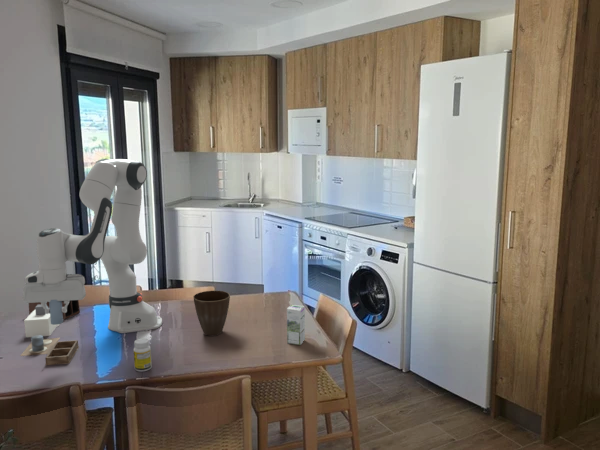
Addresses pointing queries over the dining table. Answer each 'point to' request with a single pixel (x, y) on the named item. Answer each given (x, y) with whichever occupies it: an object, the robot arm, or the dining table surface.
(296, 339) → the syrup box
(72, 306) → the letter holder
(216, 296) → the plant pot
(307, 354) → the dining table surface
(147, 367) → the supplement bottle
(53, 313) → the peg
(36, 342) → the board
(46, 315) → the cover
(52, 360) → the divided wooden tray
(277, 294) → the dining table surface
